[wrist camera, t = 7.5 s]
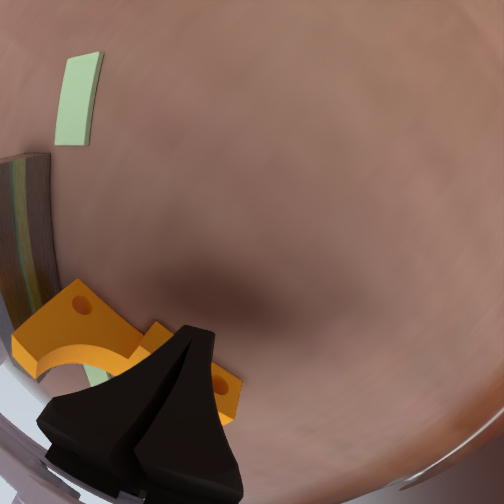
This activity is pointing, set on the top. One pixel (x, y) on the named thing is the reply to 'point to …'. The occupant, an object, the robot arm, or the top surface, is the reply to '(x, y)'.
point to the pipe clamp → (100, 342)
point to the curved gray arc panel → (25, 244)
